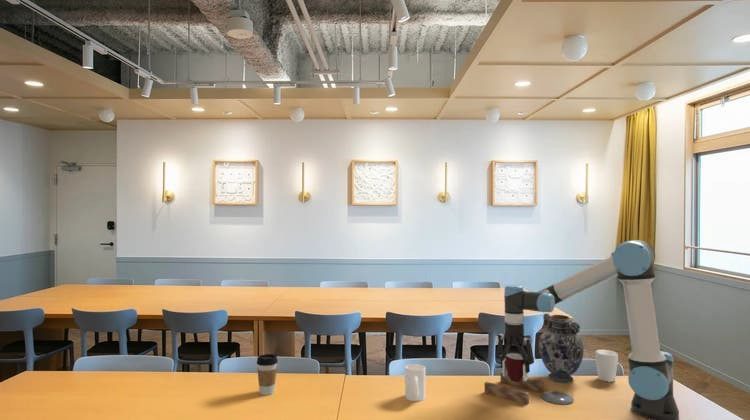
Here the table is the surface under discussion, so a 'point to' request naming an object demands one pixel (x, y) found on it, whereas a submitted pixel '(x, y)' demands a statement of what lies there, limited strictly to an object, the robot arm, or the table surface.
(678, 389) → the table surface
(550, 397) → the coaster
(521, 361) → the mug
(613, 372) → the cup
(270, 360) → the coffee cup
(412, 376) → the mug
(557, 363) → the decorative vase
